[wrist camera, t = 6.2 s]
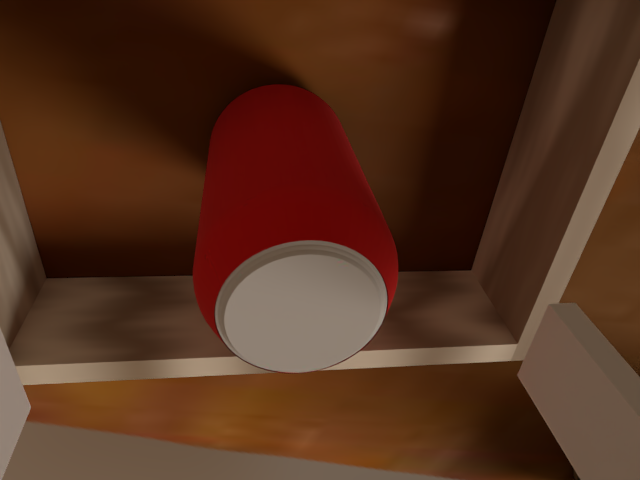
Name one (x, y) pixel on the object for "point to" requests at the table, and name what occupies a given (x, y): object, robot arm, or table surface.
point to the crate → (412, 287)
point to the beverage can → (290, 236)
